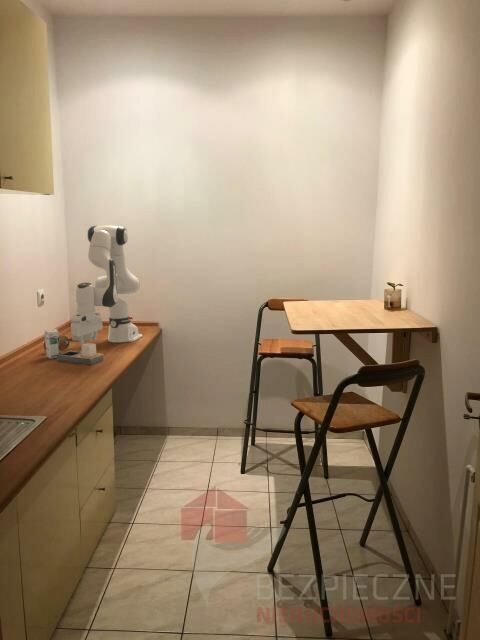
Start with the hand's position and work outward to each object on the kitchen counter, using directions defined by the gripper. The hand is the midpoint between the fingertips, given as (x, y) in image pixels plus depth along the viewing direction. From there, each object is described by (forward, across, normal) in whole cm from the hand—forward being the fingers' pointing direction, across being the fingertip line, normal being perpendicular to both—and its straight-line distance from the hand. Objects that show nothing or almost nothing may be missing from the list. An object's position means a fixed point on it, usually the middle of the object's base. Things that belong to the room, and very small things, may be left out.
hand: (88, 341), depth 272 cm
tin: (+11, -9, -31) cm, 34 cm away
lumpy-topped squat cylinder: (+12, -40, -38) cm, 56 cm away
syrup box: (+11, +1, -24) cm, 26 cm away
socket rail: (+10, +1, -6) cm, 12 cm away
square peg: (+10, 0, 0) cm, 10 cm away
